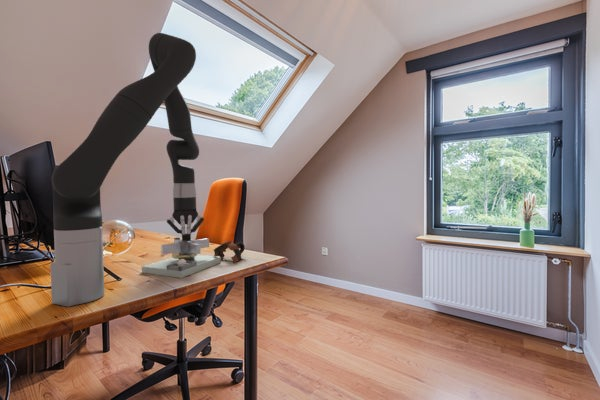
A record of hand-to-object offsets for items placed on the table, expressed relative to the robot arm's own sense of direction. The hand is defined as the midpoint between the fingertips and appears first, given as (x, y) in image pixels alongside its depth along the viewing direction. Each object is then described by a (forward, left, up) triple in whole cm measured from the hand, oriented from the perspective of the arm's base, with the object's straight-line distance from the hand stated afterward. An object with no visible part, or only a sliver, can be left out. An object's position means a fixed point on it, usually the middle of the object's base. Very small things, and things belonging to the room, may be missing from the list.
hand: (186, 244), depth 102 cm
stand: (-5, -3, -7) cm, 9 cm away
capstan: (-5, -4, -5) cm, 8 cm away
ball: (-11, -8, -3) cm, 14 cm away
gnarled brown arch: (+9, -12, -7) cm, 17 cm away
